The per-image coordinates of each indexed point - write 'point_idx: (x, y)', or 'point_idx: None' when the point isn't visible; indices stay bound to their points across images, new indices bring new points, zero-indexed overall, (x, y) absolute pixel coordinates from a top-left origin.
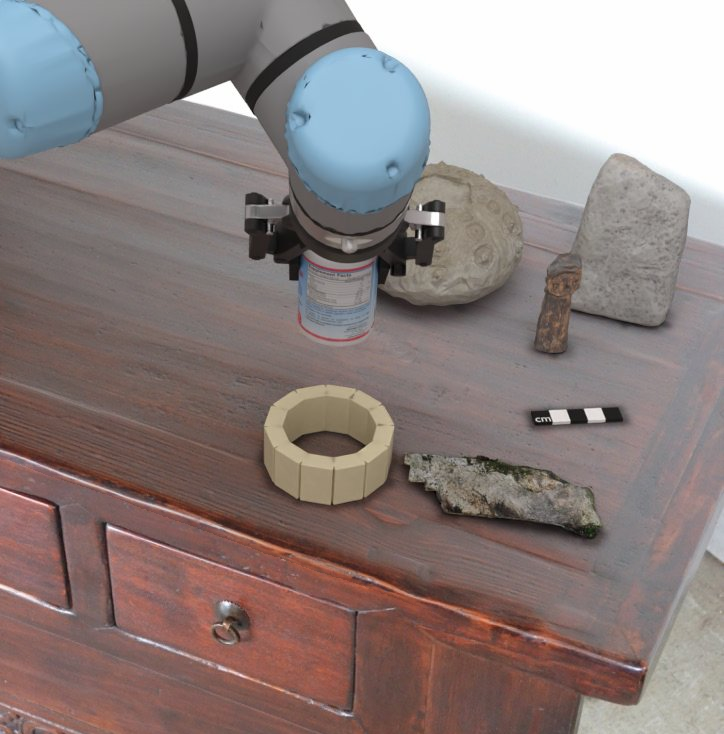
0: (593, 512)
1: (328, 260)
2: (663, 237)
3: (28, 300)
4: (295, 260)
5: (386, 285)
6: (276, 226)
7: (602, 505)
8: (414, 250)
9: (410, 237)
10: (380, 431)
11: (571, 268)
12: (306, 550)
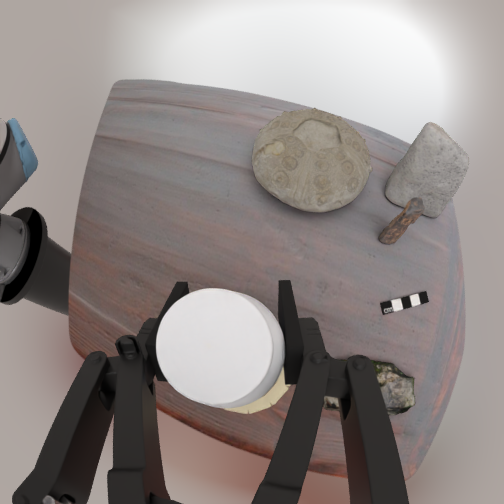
0: (412, 397)
1: (205, 404)
2: (455, 181)
3: (82, 223)
4: (164, 377)
5: (284, 201)
6: (119, 363)
7: (415, 379)
8: (340, 393)
9: (336, 379)
10: (283, 371)
11: (419, 211)
12: (234, 444)
